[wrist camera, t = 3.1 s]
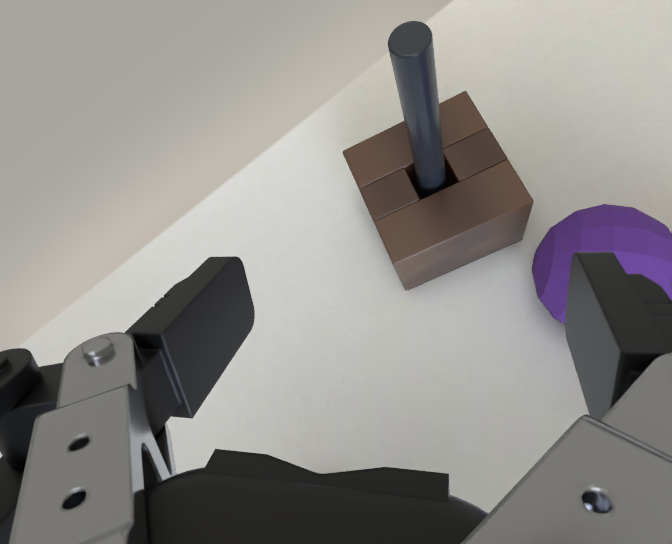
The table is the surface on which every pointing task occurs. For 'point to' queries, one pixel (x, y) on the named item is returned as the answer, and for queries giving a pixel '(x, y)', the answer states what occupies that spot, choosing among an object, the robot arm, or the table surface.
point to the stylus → (419, 102)
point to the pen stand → (441, 196)
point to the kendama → (601, 250)
